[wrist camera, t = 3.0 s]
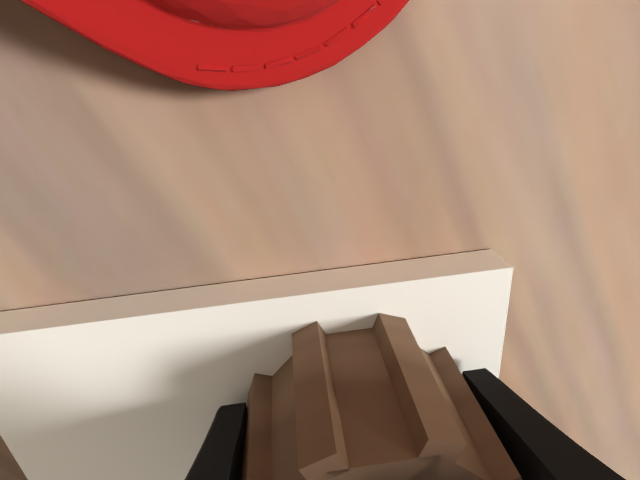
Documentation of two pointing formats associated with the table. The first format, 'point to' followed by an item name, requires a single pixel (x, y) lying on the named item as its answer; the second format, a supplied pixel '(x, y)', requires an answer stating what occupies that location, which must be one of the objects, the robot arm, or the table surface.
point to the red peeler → (227, 35)
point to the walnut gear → (368, 413)
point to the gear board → (211, 356)
